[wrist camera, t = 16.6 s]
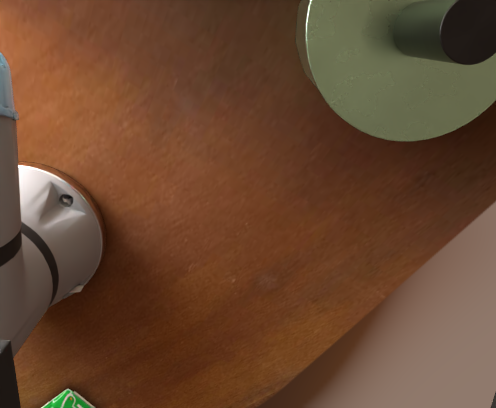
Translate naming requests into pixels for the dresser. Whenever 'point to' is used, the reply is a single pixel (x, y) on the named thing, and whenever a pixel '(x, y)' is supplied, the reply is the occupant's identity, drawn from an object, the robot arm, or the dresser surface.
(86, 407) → the toy car
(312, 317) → the dresser surface
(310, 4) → the lid
